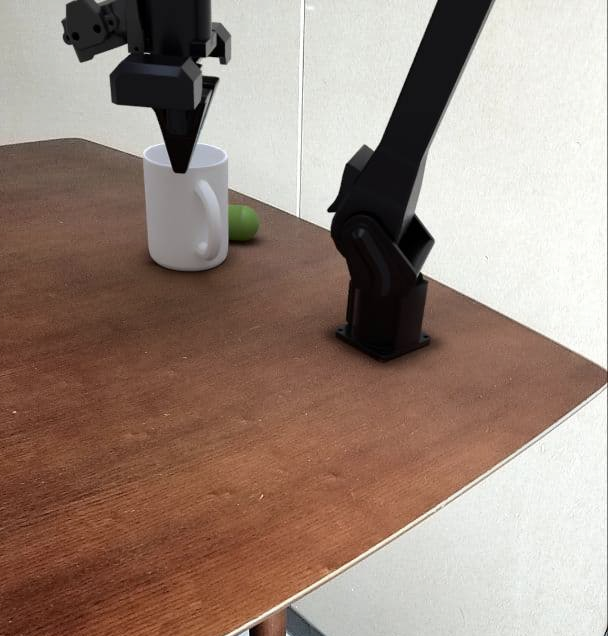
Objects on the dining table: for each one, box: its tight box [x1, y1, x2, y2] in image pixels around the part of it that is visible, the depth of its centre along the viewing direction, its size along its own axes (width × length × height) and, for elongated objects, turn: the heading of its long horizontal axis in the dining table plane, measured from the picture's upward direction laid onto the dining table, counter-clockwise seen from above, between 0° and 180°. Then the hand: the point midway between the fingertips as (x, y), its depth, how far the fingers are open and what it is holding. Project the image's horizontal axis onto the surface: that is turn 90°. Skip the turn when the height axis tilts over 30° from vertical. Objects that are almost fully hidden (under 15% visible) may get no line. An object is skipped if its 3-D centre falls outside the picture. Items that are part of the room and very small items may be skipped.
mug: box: [142, 142, 229, 272], centre depth 86 cm, size 12×8×10 cm
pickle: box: [228, 204, 260, 242], centre depth 94 cm, size 10×4×4 cm, turn 86°
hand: (180, 172), depth 75 cm, fingers closed
